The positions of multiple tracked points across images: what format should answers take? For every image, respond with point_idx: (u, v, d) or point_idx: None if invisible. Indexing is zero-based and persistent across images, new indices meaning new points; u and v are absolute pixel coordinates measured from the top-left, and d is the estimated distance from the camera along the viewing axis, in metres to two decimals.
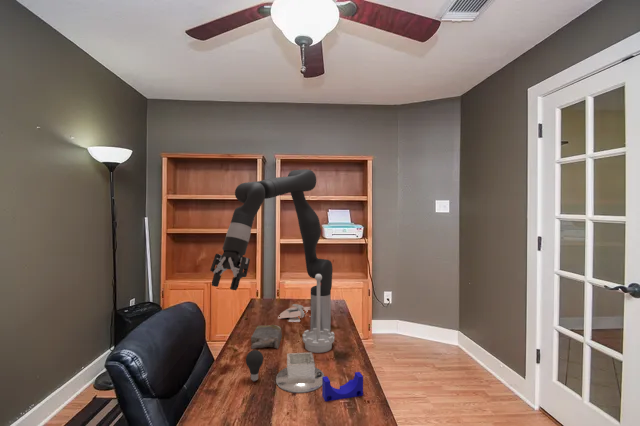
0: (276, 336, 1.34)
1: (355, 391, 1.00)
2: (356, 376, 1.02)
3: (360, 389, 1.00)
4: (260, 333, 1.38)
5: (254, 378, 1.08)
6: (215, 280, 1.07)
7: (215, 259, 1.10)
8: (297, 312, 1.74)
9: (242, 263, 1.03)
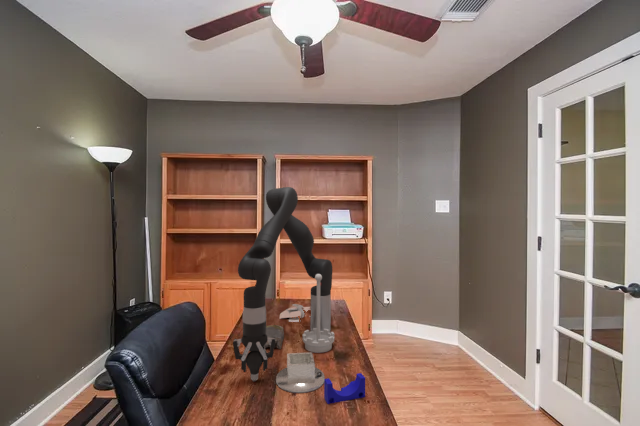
0: (279, 336, 1.34)
1: (357, 393, 0.99)
2: (358, 377, 1.01)
3: (362, 390, 1.00)
4: None
5: (254, 378, 1.08)
6: (245, 366, 1.08)
7: (236, 347, 1.07)
8: (297, 312, 1.74)
9: (273, 346, 1.08)
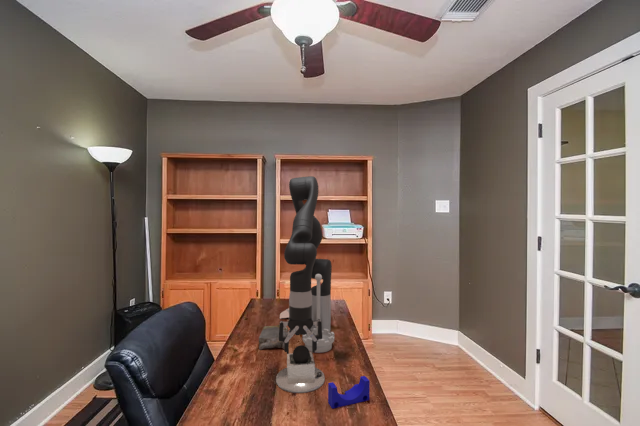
0: None
1: (362, 396, 0.97)
2: (362, 380, 0.99)
3: (366, 394, 0.98)
4: (268, 333, 1.37)
5: None
6: (288, 348, 1.09)
7: (281, 329, 1.08)
8: None
9: (321, 327, 1.09)
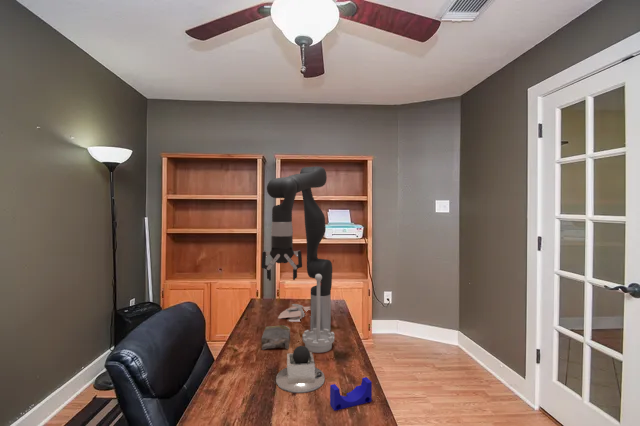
0: (287, 336, 1.33)
1: (364, 398, 0.97)
2: (364, 382, 0.98)
3: (369, 395, 0.97)
4: (270, 333, 1.37)
5: None
6: (270, 275, 1.17)
7: (264, 257, 1.16)
8: (297, 312, 1.75)
9: (300, 257, 1.18)
